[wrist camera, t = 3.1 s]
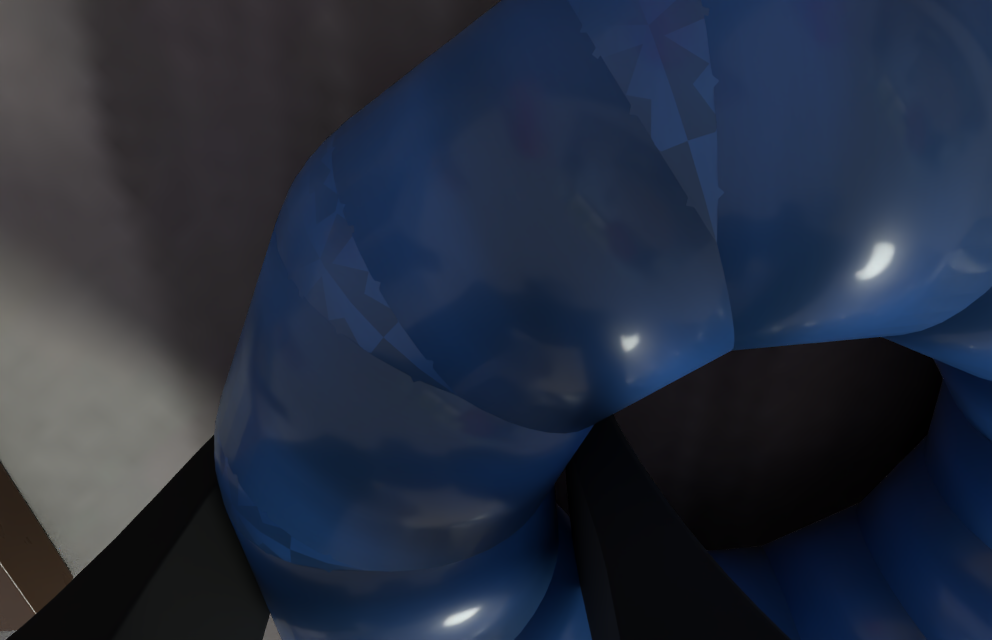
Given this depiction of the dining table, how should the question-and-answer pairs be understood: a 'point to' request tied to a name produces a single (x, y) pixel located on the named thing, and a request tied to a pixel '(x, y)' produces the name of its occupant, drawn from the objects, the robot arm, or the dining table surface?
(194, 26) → the dining table surface
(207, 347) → the dining table surface
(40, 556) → the wooden peg stand
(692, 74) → the blue swim ring
